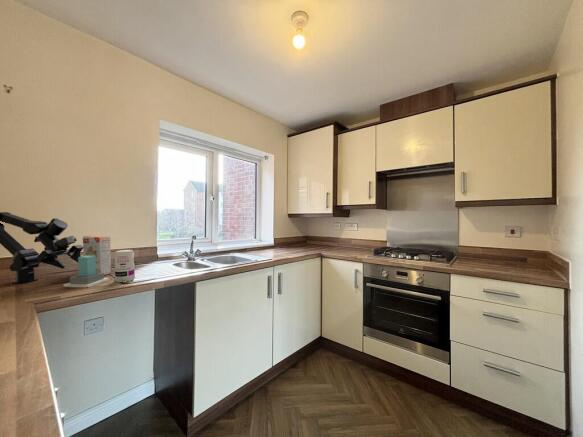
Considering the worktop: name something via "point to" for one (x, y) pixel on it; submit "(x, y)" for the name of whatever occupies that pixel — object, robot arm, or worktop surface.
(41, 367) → the worktop surface
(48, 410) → the worktop surface
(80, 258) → the peg
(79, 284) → the mounting plate
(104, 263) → the cracker box
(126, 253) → the supplement can
